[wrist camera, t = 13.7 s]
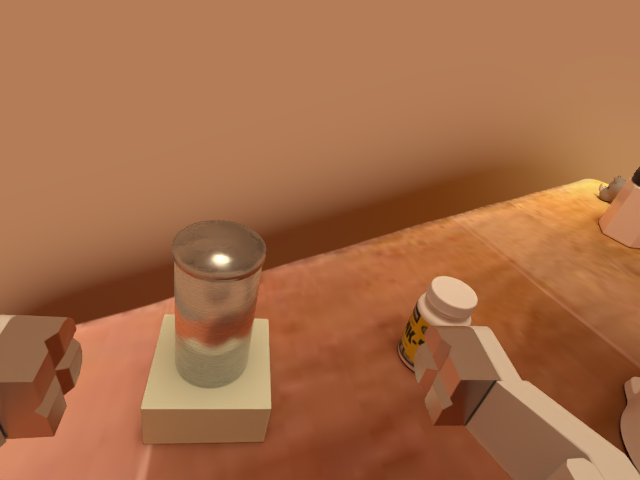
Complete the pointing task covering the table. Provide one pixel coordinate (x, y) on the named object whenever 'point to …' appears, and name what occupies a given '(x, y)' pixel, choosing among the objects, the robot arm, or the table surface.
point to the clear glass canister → (215, 300)
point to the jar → (624, 214)
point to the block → (206, 397)
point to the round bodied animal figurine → (611, 189)
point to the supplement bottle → (437, 313)
